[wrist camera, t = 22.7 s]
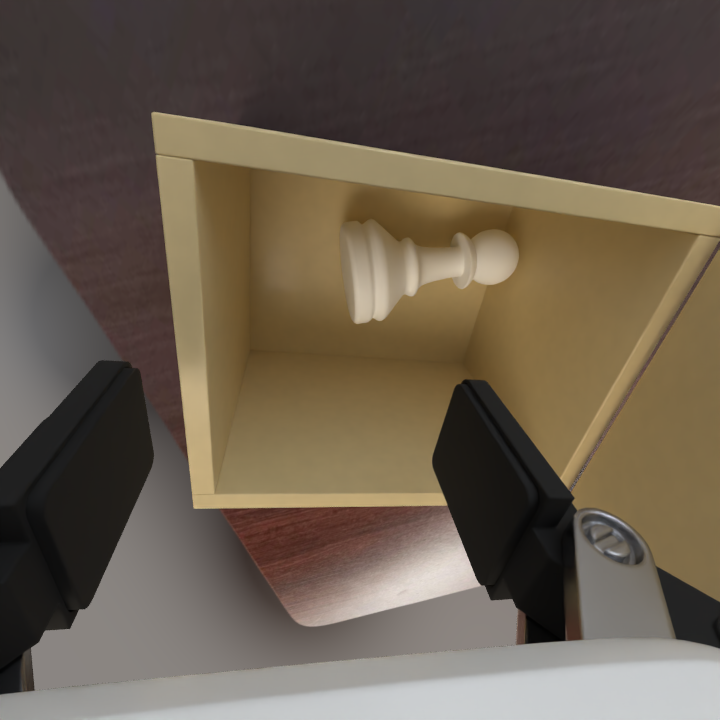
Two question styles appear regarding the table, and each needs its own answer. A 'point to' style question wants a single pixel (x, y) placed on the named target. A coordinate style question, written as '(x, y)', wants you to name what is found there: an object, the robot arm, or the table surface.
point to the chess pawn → (415, 265)
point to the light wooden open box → (396, 311)
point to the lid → (670, 448)
